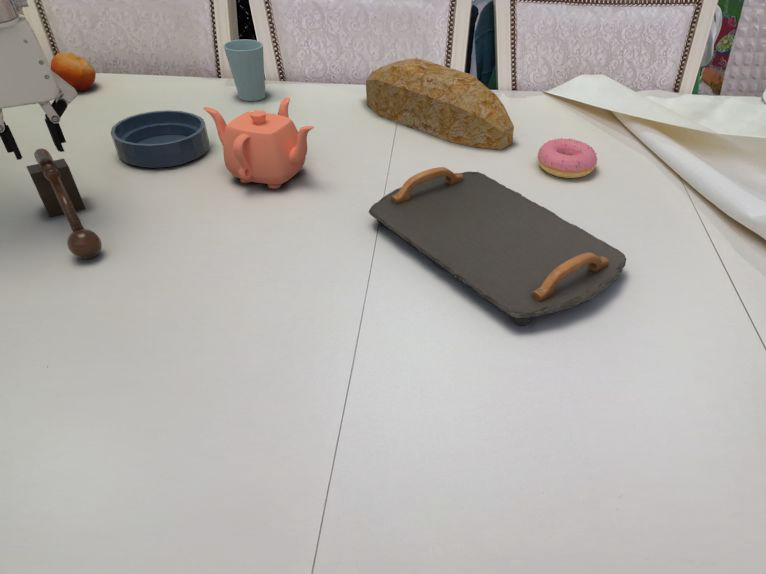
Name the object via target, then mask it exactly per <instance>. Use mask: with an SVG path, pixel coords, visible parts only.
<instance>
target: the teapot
mask: <svg viewBox="0 0 766 574" xmlns="http://www.w3.org/2000/svg"><path fill="white" fill-rule="evenodd" d="M290 101H291V98H290V97H285V98H283V99H282V100H281V101H280V104H279V107H278V112H277V114H276V113H271V112H266V111H264V110H261V109H257V110H252V111H246V112H244V113H242V114H240V115H238V116H237V117H235V118H234V119H232V120H231V121H229V122H228V123H227V122H226V121H225V118H224V117H223V115H222V114H221V113H220V112H219V111H218V110H216V109H215V108H213V107H209V106H203V110H204V111H205V112H207V113H208V114H209V115H210V117H211V118H212V120H213V121H214V124H215V127H216V130H217V135H218V139H219V140H220V143H221V144H222V151H223V152H222V153H223V161H224V165H225V167H226V169H227V170H228V172H229V173H230V174H231V175H232V176H233V177H236V178H238V179H239V181H240V183H243V184H245V183H246V184H247V183H252V182H253V183H258V184H267V187H268V188H269V189H279V188H281V187H282V184H284V183H286V182H288V181H289V180H291V179H292V178H293V177H294V176H295V175H297V174H298V173H300V171H301V170H302V169H303V167H304V164H305V162H306V156H307V154H308V134H309V132H310V131H312V130H313V129H314V128H315V126H313V125H304V126H301V127H300V128H299V130H298V129H297V127H296V125H295V122H294V121H293V119H292V118H290V116H289V104H290Z"/></svg>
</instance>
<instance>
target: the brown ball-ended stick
mask: <svg viewBox="0 0 766 574" xmlns="http://www.w3.org/2000/svg"><path fill="white" fill-rule="evenodd" d="M33 155H34V159H35V160H36V164H38V165H39V167H40V169H41V171H42V173H43V175H44V177H45V178H46V179H47V180H48V181H49V182H50V184H51V186H52V188H53V190H54V193H55V195H56V197H57V199H58V201H59V203H60V205H61V208H62V210H63V212H64V214H63V215H64V216H65V219H66V220H67V222H68V225H69V227H70V229H71V231H72V232H71V233H70V234H69V235H68V237H67V243H66V244H67V248H68V250H69V251H70V253H71V254H72V255H74V256H75V257H77V258H79V259H86V260H87V259H92V258H95V257H96V256H98V255H99V253H100V252H101V250H102V245H103V244H102V239H101V238H100V237H99V235H98V234H97V233H95V232H94V231H92V230H90V229H87V228H84V226H83V223H82V222H81V220H80V218H79V215H78V213H77V211H75V209H74V207H73V205H72V202H71V200H70V198H69V196H68V194H67V192H66V190H65V188H64V185H63V183H62V181H61V179H60V177H61V174H60V172H59V170H58V168H57V166H56V164H55V162H54V159H53V156H52V155H51V153H50V152H49V151H48V150H47V149H44V148H37V149H36V150H35V151H34V153H33Z"/></svg>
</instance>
